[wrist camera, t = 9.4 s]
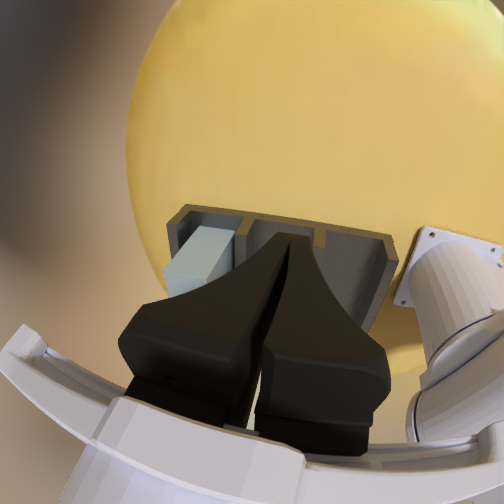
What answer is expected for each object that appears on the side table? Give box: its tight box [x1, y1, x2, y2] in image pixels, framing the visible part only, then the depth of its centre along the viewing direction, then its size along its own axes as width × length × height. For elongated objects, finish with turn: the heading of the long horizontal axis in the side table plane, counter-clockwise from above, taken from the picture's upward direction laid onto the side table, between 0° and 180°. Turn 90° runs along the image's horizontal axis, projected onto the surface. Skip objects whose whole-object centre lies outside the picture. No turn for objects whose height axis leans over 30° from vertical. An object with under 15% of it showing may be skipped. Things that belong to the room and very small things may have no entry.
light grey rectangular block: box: [164, 226, 235, 298], centre depth 21 cm, size 3×7×6 cm, turn 178°
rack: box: [166, 204, 399, 334], centre depth 22 cm, size 17×10×4 cm, turn 88°
